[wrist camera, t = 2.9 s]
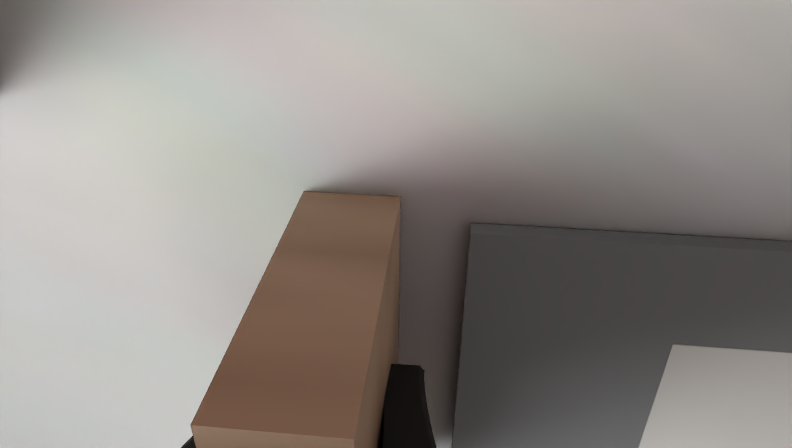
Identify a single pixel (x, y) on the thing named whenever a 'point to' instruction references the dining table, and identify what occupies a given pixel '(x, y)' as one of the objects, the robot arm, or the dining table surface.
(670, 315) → the charcoal mat
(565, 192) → the dining table surface
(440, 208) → the dining table surface
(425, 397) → the robot arm
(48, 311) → the dining table surface
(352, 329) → the walnut slab
